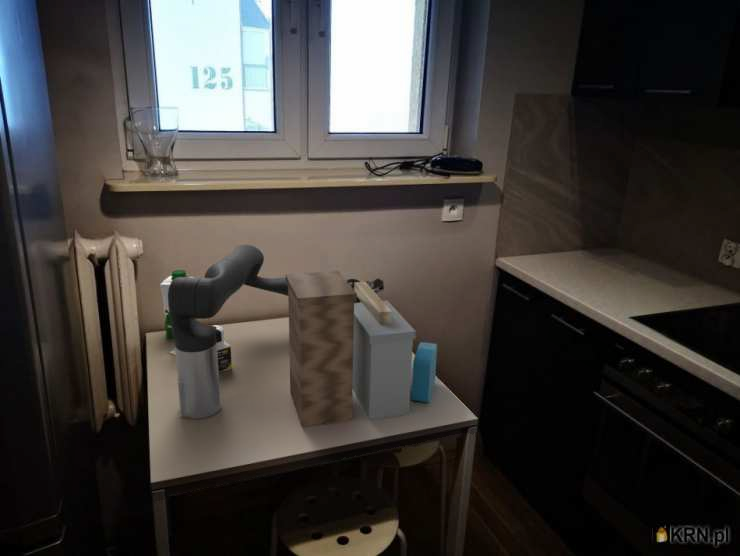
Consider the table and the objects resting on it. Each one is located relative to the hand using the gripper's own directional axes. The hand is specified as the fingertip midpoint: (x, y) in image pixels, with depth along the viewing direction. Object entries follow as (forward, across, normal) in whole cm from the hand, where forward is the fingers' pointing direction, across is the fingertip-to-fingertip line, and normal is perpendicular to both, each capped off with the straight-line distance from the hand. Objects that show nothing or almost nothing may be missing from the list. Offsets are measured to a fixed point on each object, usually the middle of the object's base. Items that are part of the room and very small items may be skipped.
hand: (363, 283), depth 148 cm
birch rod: (+4, 0, -7) cm, 8 cm away
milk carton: (-45, +48, -4) cm, 66 cm away
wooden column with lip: (0, +15, -30) cm, 33 cm away
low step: (-1, 0, -29) cm, 29 cm away
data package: (0, -12, -30) cm, 33 cm away
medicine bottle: (-24, +39, -17) cm, 49 cm away
